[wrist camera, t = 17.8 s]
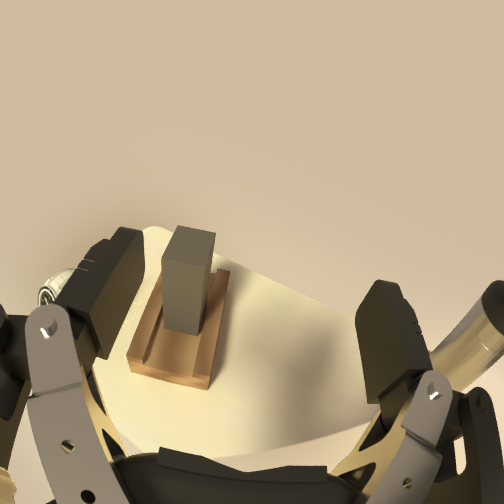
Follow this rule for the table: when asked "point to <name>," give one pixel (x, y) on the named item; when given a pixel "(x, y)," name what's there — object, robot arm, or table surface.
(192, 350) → the wooden channel tray
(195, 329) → the tall taupe pillar block
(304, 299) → the table surface
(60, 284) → the watch
